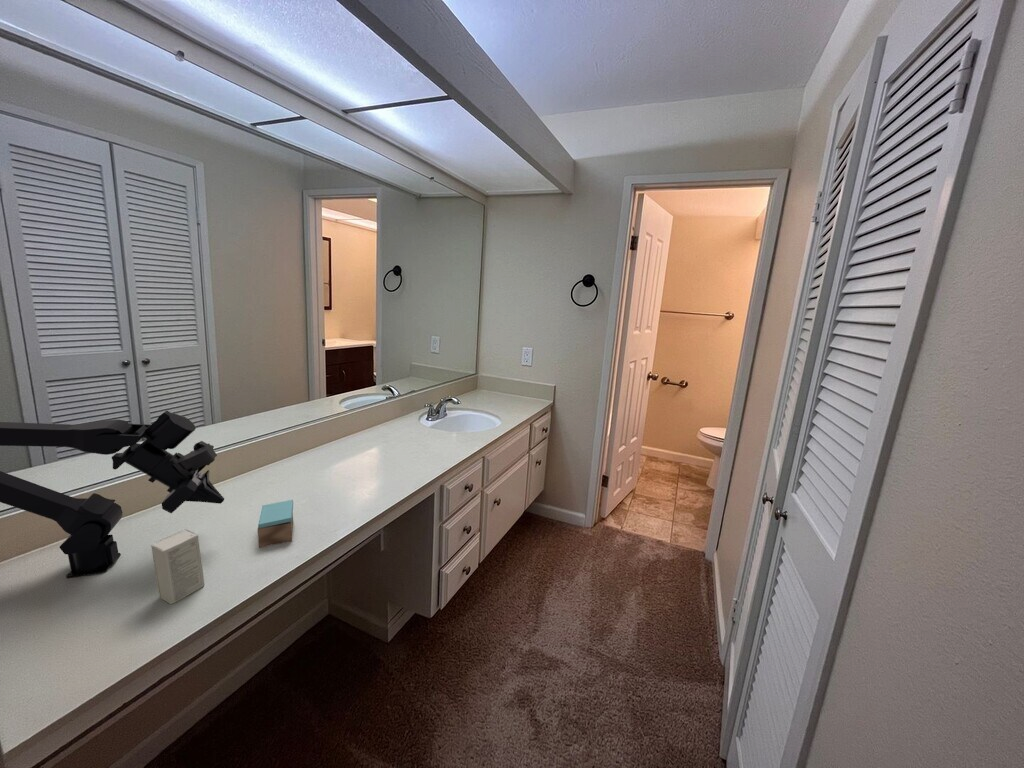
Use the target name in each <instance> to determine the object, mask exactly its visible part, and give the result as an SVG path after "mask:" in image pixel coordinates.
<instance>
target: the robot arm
mask: <svg viewBox="0 0 1024 768" xmlns="http://www.w3.org/2000/svg"><path fill="white" fill-rule="evenodd" d="M195 430H197V428H196V426H195V424H194V423H193V422H192V420H190V419H189V418H187V417H186V416H182V415H180V414H178V413H172V412H170V411H169V410H165V411H163V412H162V414H160V415H159V416H158V417H157V419H156V420H155V421H154V422H152V423H151V424H144V423H142V424H141V423H129V421H126V420H123V419H107V420H106V419H105V420H96V421H92V422H91V421H90V422H85V423H79V424H78V423H77V424H67V423H66V424H65V423H64V424H63V423H61V424H60V423H41V422H40V423H39V422H37V423H36V422H14V421H13V422H10V421H8V422H7V421H0V446H1V447H5V446H6V447H53V448H54V447H56V448H59V447H61V448H62V447H64V448H71V449H76V450H77V451H80V452H83V453H87V454H88V453H91V454H96V455H97V454H98V455H105V456H106V455H107V456H108V455H112V456H111V461H112V470H117V469H119V468H120V467H121V466H122V465H123V464H127V465H128V466H131V467H133V468H134V469H136V470H137V471H139V472H141V473H142V474H144V475H146V476H148V477H149V479H148V481H149V482H150V483H152V484H153V483H155V481H157V482H159V483H161V484H163V485H164V486H166V487H167V489H166V492H168V494H167V495H166V496H165V498H164V499H163V501H162V502H161V509H162V510H163V511H165V512H167V513H169V514H173V513H174V512H175V511H176V510H177V509H178V508H179V507H180V506H181V505H182V504H184V503H185V502H192V503H193V502H195V503H211V504H218V505H219V504H220V505H221V504H222V503H223V502H225V497H224V496H223V495H222V494H221V493H220V492H219V491H218V490H217V489H216V487H215V485H214V484H213V483H212V482H211V481H210V470H209V469H207V470H206V471H205V472H204V473H203V472H201V471H202V470H203V469H204V468H205V467H206V466H210V464H212V463H213V462H214V461H216V460H215V459H216V457H218V454H217V453H216V452H215V450H214V445H213V444H210V442H209V443H208V442H205V441H203V440H201V441H199V442H195V443H194V445H193V450H191V451H190V452H188V453H187V454H182V453H180V452H175V453H174V454H172V453H170V452H169V451H167V450H174V449H176V448H177V447H178V446H179V445H180V444H181V443H183V441H184V440H186V438H188V437H189V436H190V435H192V434H193V432H195ZM143 438H145V440H143V441H142V442H141V443H139V442H140V441H141V440H142V439H143ZM124 448H126V449H125V450H123V451H122V452H120V451H121V450H122V449H124ZM0 503H1V504H5V505H7V506H10V507H13V508H16V509H19V510H22V511H24V512H25V511H26V512H28V513H32V514H34V515H36V516H40V517H44V518H45V519H46V518H47V519H50V520H52V521H54V522H56V524H57V525H58V526H59V527H60V528H61V529H62V530H63V532H64V533H66V534H68V535H69V536H67V538H66V539H65V540H64V541H63V542H62V543H61V544H60V546H58V547H59V549H60V550H61V551H62V552H63V554H64V555H67V557H68V563H69V567H70V568H69V569H70V570H69V572H68V573H67V574H66V575H65V578H67V579H70V578H77V577H83V576H91V575H97V574H102V573H106V572H108V570H109V569H110V568H111V567H112V566H113V565H114V564H115V562H116V561H117V560H118V559H119V557H121V552H119V549H118V544H117V541H116V540H115V539H114V535H113V534H111V533H110V532H111V531H112V530H113V529H114V528H115V527H116V525H117V524H118V523H119V522H120V521H121V518H122V517H123V513H124V512H123V510H122V506H120V505H119V504H118V503H117V502H116V499H111V498H107V497H104V496H102V495H101V494H99V493H92V494H91V495H89V497H88V498H84V497H83V498H82V497H81V498H78V497H72V496H70V495H68V494H64V493H61V492H59V491H56V490H54V489H51V488H48V487H45V486H43V485H40V484H36V483H35V482H31V481H29V480H25V479H24V478H21V477H18V476H16V475H11V474H9V473H6V472H4V471H1V470H0Z"/></svg>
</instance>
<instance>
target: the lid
mask: <svg viewBox="0 0 1024 768" xmlns="http://www.w3.org/2000/svg"><path fill="white" fill-rule="evenodd" d="M292 514H293V515H294V499H289V500H284V501H280V502H274V503H270V504H264V505H263V504H262V505H261V510H260V515H259V519H258V523H257V525H258V526H257V528H258V527H259V528H263V527H267V526H272V525H277V524H281V523H286V522H291V521H292Z"/></svg>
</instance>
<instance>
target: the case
mask: <svg viewBox="0 0 1024 768" xmlns="http://www.w3.org/2000/svg"><path fill="white" fill-rule="evenodd" d="M293 531H294V513H293V514H292V521H291V522H286V523H281V524H277V525H272V526H267V527H263V528H259V527H258V526H257V541H258V548H264V547H269V546H273V545H275V546H276V545H279V544H280V545H281V544H285V543H290V542H293V533H294V532H293Z"/></svg>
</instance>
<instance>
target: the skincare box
mask: <svg viewBox="0 0 1024 768" xmlns="http://www.w3.org/2000/svg"><path fill="white" fill-rule="evenodd" d="M150 546H151V554H152V558H153V565H154V570H155V576H156V583H157V589H158V594H159V598H160V599H162V600H163V601H166V602H167V603H168V604H170V605H173V604H174V603H177V602H179V601H180V600H182V599H184V598H185V597H187V596H189V595H191V594H192V593H194V592H196V591H198V590H199V589H201V588H202V587H204V586H205V578H204V571H203V564H202V554H201V549H200V540H199V535H198V534H196V533H195V532H193V531H191V530H189V529H187V528H184V529H183V530H182V529H181V530H180V531H177V532H176V533H174V534H172V535H169V536H167V537H165V538H163V539H160V540H158V541H156V542H154V543H152V544H151V545H150Z"/></svg>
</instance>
